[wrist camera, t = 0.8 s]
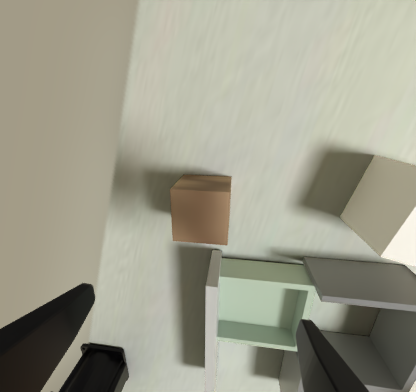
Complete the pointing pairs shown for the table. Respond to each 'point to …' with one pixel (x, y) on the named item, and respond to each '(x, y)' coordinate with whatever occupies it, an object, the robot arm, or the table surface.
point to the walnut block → (201, 209)
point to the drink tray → (253, 306)
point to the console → (382, 330)
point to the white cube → (386, 209)
